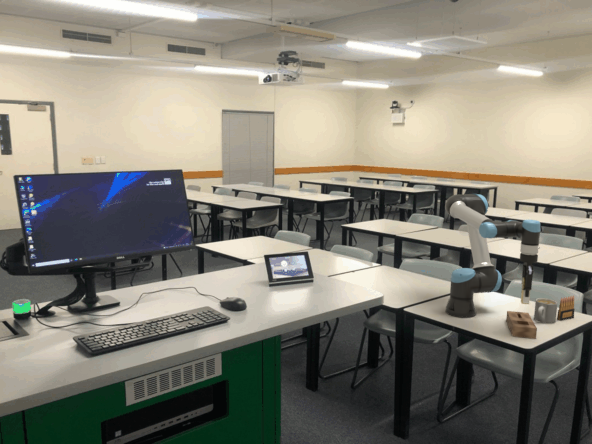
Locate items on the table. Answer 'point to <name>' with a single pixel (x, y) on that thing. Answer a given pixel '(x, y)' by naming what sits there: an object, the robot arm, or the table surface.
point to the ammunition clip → (566, 308)
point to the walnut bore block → (521, 324)
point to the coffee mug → (545, 310)
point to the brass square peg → (523, 290)
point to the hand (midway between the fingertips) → (525, 301)
